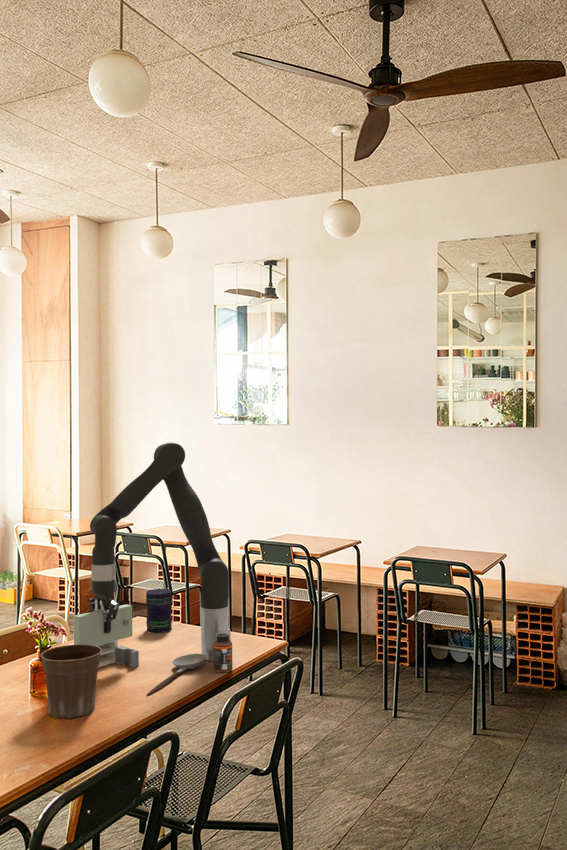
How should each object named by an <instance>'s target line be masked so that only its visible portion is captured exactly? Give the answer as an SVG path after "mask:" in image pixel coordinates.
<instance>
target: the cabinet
mask: <svg viewBox="0 0 567 850" xmlns="http://www.w3.org/2000/svg"><path fill="white" fill-rule="evenodd" d="M118 642H119V640H116V641H112V642H108V643H104V644H100V645H97V646H98V647H100V648H101V649H102V653H101V654H100V661H99V666H98V668H101V667H105V666H107V665H110V664H111V665H112V664H115V663H117V664H120V665H123V666H125V665H129V666H130V668H131V669H134V668H136V667H140V660H139V659H140V658H139V657H140V654H139V652H140V651H139V650H138V649H135V648H132V647H131V648H130V647H128V646H124V645H119V643H118ZM66 645H67V644H66ZM66 645H64V646H66ZM68 645H74V642H73V643H68Z"/></svg>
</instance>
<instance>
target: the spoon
mask: <svg viewBox="0 0 567 850" xmlns="http://www.w3.org/2000/svg"><path fill="white" fill-rule="evenodd" d="M205 659H206V656H205V655H203V654H202V653H190V654H185V655H181V656H178V657H176V658H174V659H173V660H172V664H173V665H174V666H175V667H177V668H179V669H178V670H176V671H175V672H174V673H172V674H171V675H170V676H169V677H166V678H165V679H164V680H162V681H161V682H160V683H158V684H157V685H156V686H154V687H153V688H152V689H151V690H149V692H147V694H146V696H147V697H148V696H151V695H154V694H155V693H156V692H159V691H160V690H161V689H163V688H164V686H165V687H166V686H167V685H169V684H170V683H171V682H172V681H174V679H175V678H176V677H177V676H178V675H180V674H181V673H183V672H184V671H186V670H188V671H189V670H193V669H195V668H198V667H200V666H201V665H202V664H204V662H205V661H206V660H205Z"/></svg>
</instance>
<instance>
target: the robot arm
mask: <svg viewBox="0 0 567 850" xmlns="http://www.w3.org/2000/svg"><path fill="white" fill-rule="evenodd" d="M185 459H186V451H185V449H184V447H183V446H182V445H181V444H179V443H176V442H166V443H163V444H160V445H159V446H157V447H156V449H155V450H154V453H153V461H152V462H151V464H149V466H148V467H147V468H145V470H143V472H142V473H141V474H139V475H138V476H137V477H136V478H135V479H134V480H132V481H131V482H130V483H129V484H127V486H126V487H124V488H123V490H121V491H120V492H119V493H118V494H117V496H116V497H115V498H114V499H112V501H110V503H109V504H107V505H106V506H105V507H104V508H102V509H101V510H100V511H99V512H98V513H96V515H94V516H93V518H91V520H90V523H89V530H90V532H91V534H93V535H94V546H93V548H92V550H91V571H90V573H91V575H90V577H91V578H90V580H91V594H93V595H94V596H93V598H88V604H89V607H90V612H93V611H99V610H101V611H102V614H103V617H104V633H105V634H107V633H110V632H111V621H112V620H115V619H116V616H117V612H118V608H119V606H120V603H119V602H115V598H114V593H115V592H116V591H117V589H116V585H117V584H116V581H117V579H116V577H117V576H116V574H117V573H116V563H115V562H116V561H115V560H116V559H115V547H116V540H117V533H118V529H117V528H118V526H117V524H118V523H119V521H121V520H122V519H125V518H127V517H128V516H129V515H131V513H132V512H134V510H135V509H137V507H138V506H139V505H140V504H141V502H143V500H144V499H145V498H147V496H148V495H150V493H151V492H152V491H153V490H154V488H156V487H157V485H159V484H160V483H161V482H162V481H164V484H165V486H166V488H167V491H168V494H169V497H170V500H171V504H172V506H173V509H174V512H175V515H176V517H177V519H178V522H179V525H180V528H181V529H182V532H183V533H184V535H185V538H186V539H187V541H188V542H189V545H190V546H191V549H192V551H193V555H194V557H195V560H196V564H197V569H198V573H199V576H200V578H201V580H200V581H201V583H200V584H201V593H200V594H201V596H200V630H201V631H200V637H201V638H200V639H201V642H200V643H201V654H203V655H205V656H206V659H205V660H204V661H208V662H214V642H215V641H217V639H216V638H217V634H221V633H226V634H229V640H230V641H231V642H232V637H231V636H232V635H231V634H232V632H231V629H230V628H229V596H230V588H229V587H230V577H229V576H230V574H229V573H230V572H229V568H228V566H227V565H226V563H225V562H224V561H223V560H222V558H221V557H220V555H219V553H218V551H217V549H216V546H215V544H214V541H213V538H212V533H211V528H210V524H209V520H208V517H207V515H206V512H205V509H204V507H203V504H202V501H201V500H200V498H199V496H198V495H197V493H196V491H195V490H194V489H193V487H192V485H191V484H190V483H189V481H188V479H187V478H186V475H185V472H184V470H183V467H182V465H183V464H184V462H185ZM106 610H109V611H106ZM107 614H108V617H107ZM112 615H113V616H112Z"/></svg>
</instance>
